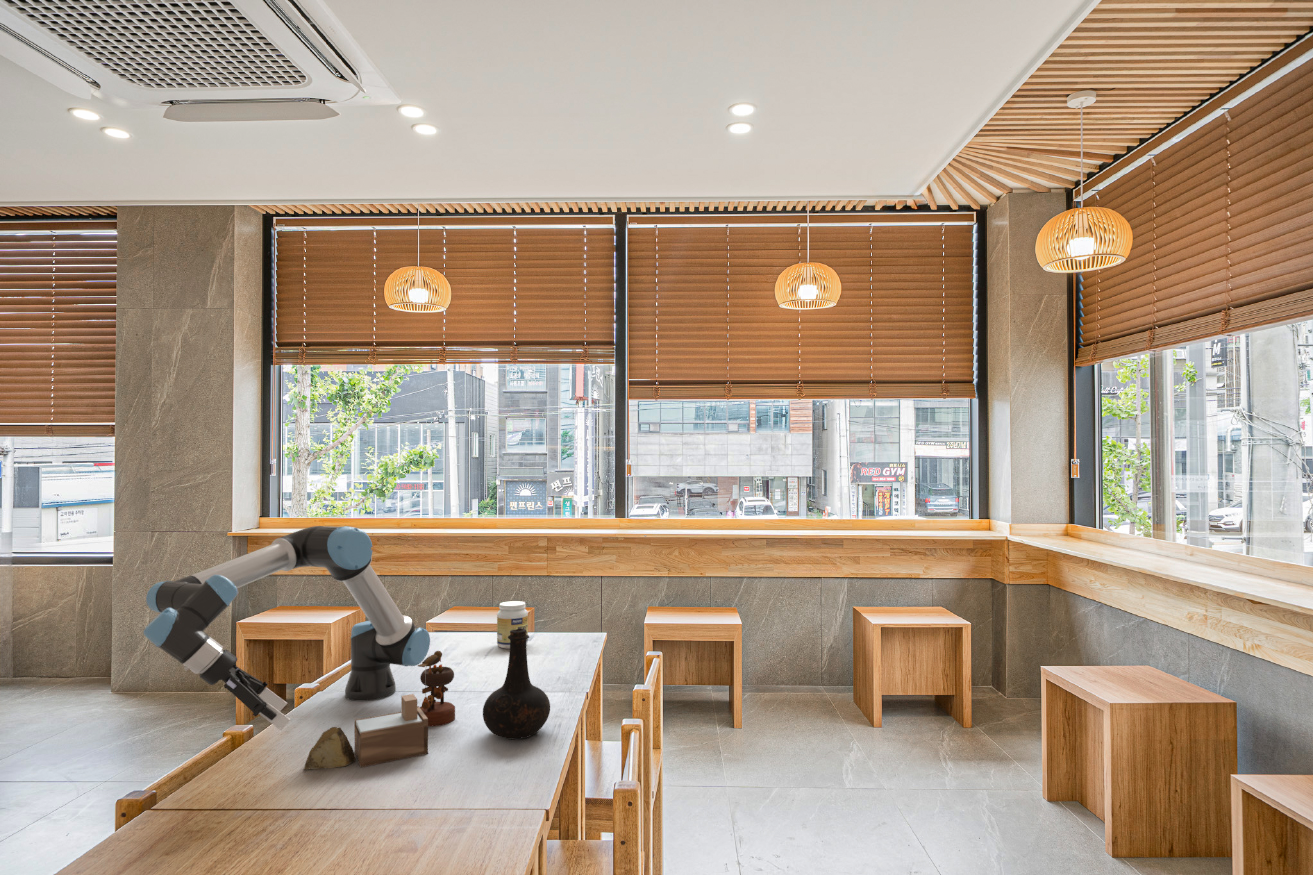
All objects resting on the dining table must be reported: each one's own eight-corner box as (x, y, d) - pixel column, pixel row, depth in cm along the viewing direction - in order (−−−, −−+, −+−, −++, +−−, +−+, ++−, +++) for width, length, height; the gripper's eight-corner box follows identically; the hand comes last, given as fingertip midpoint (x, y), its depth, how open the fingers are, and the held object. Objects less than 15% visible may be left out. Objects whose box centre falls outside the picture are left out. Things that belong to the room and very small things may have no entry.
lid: (355, 724, 186) (355, 700, 186) (414, 714, 193) (414, 691, 194) (360, 735, 178) (361, 711, 179) (422, 724, 186) (422, 700, 186)
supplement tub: (512, 650, 285) (512, 607, 286) (490, 646, 292) (490, 604, 293) (534, 644, 296) (533, 602, 296) (512, 640, 302) (512, 599, 303)
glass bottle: (469, 741, 193) (469, 634, 194) (506, 718, 210) (505, 620, 211) (529, 749, 187) (528, 639, 188) (561, 725, 204) (560, 624, 205)
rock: (291, 765, 173) (328, 762, 171) (303, 728, 179) (338, 725, 177) (319, 777, 181) (354, 775, 179) (329, 742, 187) (363, 739, 185)
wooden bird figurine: (445, 729, 202) (439, 656, 203) (408, 731, 203) (402, 658, 204) (466, 710, 217) (460, 642, 218) (431, 712, 219) (426, 645, 219)
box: (354, 751, 187) (354, 717, 187) (418, 739, 195) (418, 706, 195) (360, 767, 177) (360, 730, 177) (428, 753, 185) (427, 718, 185)
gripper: (200, 662, 177) (269, 713, 184) (194, 689, 155) (273, 746, 162) (225, 637, 179) (293, 689, 186) (223, 660, 158) (300, 718, 165)
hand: (284, 716), depth 174 cm, fingers open, 13 cm apart
